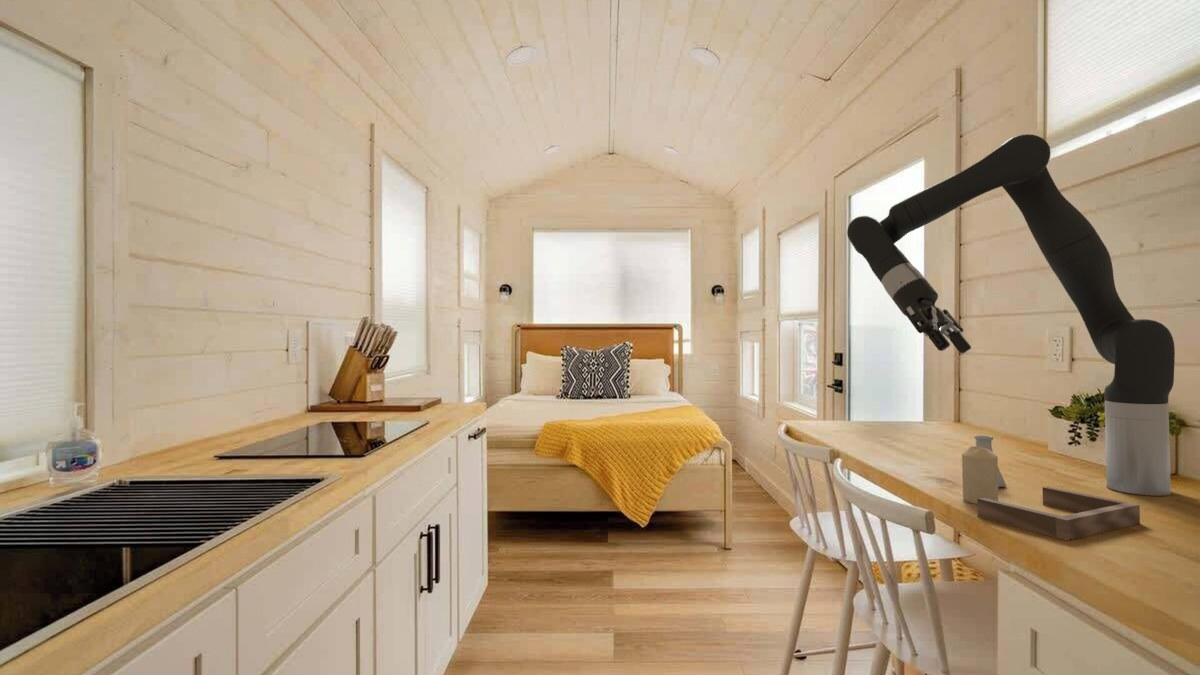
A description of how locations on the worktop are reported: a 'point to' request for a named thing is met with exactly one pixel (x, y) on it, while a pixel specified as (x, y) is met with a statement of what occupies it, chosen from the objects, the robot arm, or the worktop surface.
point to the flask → (986, 443)
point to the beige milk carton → (979, 474)
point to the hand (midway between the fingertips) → (956, 349)
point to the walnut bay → (1090, 520)
